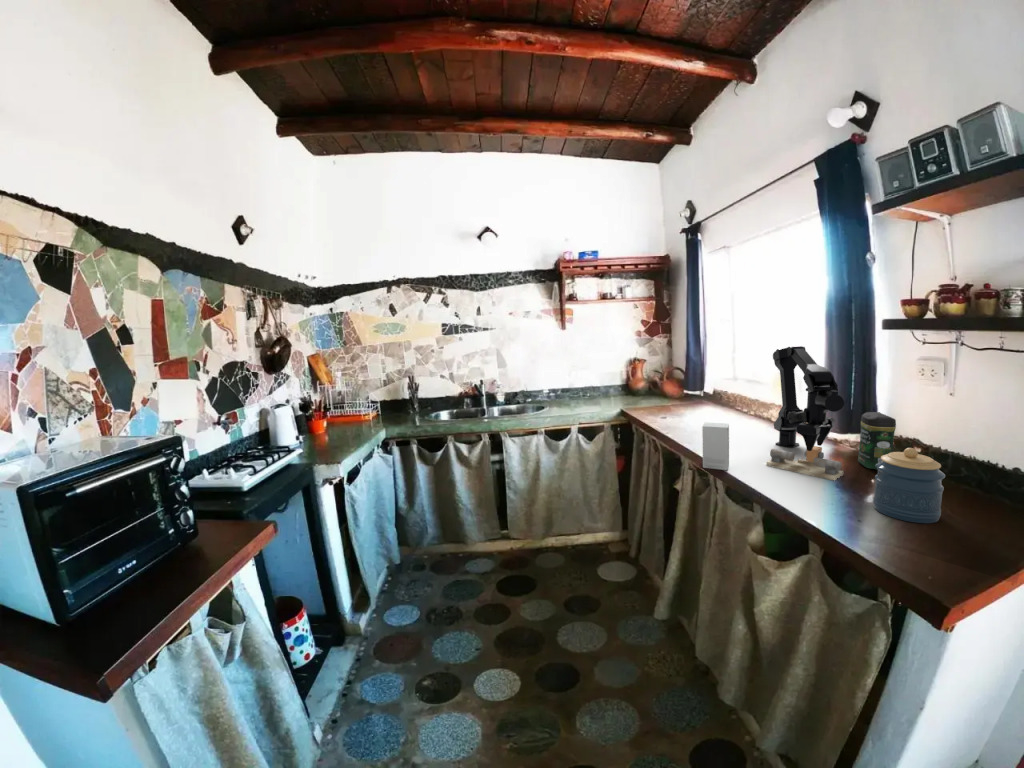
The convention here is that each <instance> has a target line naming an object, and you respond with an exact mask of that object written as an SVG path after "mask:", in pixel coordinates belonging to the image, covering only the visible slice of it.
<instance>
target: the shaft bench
mask: <svg viewBox="0 0 1024 768" xmlns="http://www.w3.org/2000/svg"><path fill="white" fill-rule="evenodd" d="M769 451H770V452H769V454H770V455H769V456H770V457H771V459H770V460H767V461H766V466H768V465H770V466H769V467H772V466H773V468H777V467H778V468H777V469H781V468H782V470H785V469H786V470H787V471H790V472H794V473H798V472H799V474H803V475H807V476H811V475H812V476H813V477H817V478H820V477H821V479H824V478H825V480H829V481H833V480H834V481H837V480H838V479H839V478H840V476H841V477H842V476H844V472H845V471H844V470H841V469H842V462H841V461H837V460H831V459H827V458H823V459H822V458H817V457H815V458H814V460H813V462H810V461H806V460H805V459H801V458H798V459H797V460H795V459H796V454H795V452H793V451H792V452H791V451H787V450H782V449H776V448H771V449H770V450H769ZM837 478H838V479H837Z"/></svg>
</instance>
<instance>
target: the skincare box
mask: <svg viewBox="0 0 1024 768" xmlns="http://www.w3.org/2000/svg"><path fill="white" fill-rule="evenodd" d="M701 430H702V468H704V469H712V470H723V471H728V470H729V467H730V423H721V422H705V421H704V424H703V425H702V429H701Z"/></svg>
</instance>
